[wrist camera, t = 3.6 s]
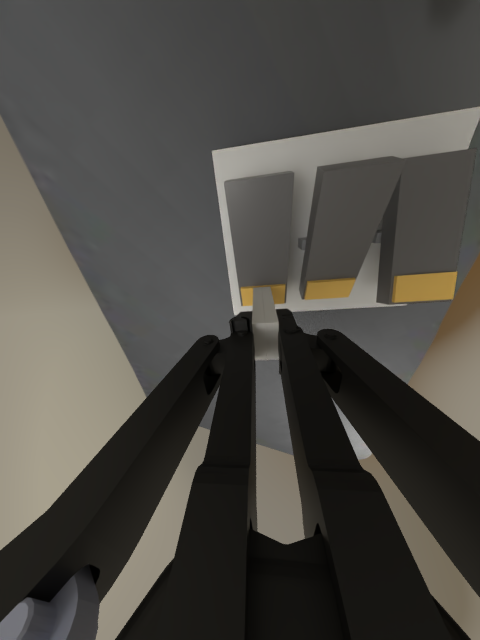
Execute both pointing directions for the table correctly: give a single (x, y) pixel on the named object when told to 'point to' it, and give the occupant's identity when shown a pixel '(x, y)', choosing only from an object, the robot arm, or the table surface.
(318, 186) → the rocker
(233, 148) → the switch unit
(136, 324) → the table surface
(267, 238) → the rocker
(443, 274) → the rocker
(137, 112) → the table surface
